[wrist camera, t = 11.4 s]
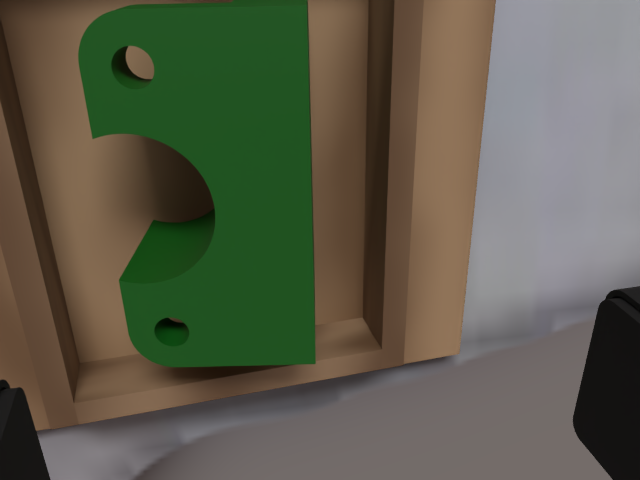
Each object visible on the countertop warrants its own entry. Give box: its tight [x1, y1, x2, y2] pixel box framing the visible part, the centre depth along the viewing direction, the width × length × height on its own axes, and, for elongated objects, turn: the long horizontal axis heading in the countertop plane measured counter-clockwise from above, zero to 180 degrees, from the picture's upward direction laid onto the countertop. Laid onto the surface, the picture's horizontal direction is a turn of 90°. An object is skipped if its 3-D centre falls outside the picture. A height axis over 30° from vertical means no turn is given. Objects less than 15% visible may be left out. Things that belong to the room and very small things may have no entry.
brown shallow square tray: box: [0, 0, 496, 431], centre depth 22 cm, size 22×22×4 cm
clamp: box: [78, 0, 316, 367], centre depth 20 cm, size 12×6×9 cm, turn 175°
